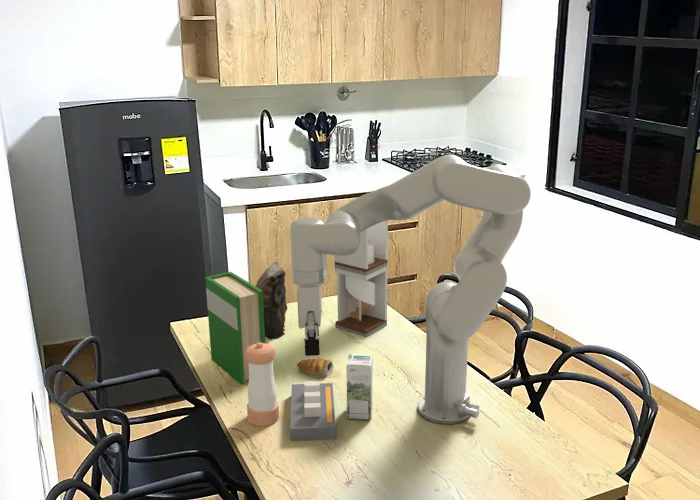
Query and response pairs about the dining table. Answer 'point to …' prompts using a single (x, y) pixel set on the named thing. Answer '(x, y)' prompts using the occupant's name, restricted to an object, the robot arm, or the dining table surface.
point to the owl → (273, 300)
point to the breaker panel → (312, 425)
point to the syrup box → (359, 386)
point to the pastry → (316, 367)
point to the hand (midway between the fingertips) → (312, 345)
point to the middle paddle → (312, 397)
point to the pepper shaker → (261, 385)
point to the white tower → (364, 284)
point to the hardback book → (234, 322)
